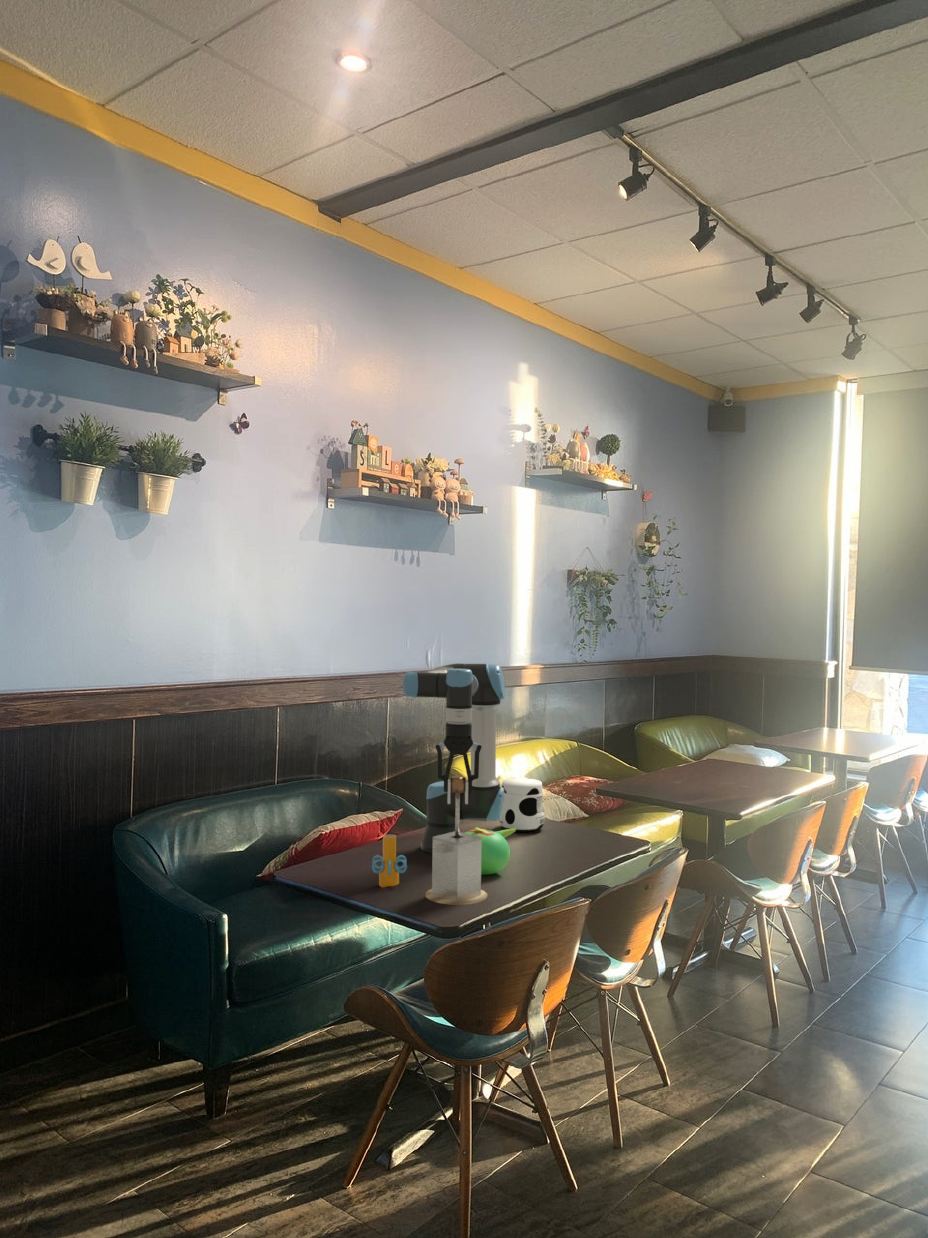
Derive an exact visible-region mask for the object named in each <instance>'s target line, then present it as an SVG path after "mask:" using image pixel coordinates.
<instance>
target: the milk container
mask: <svg viewBox="0 0 928 1238" xmlns="http://www.w3.org/2000/svg"><path fill="white" fill-rule="evenodd" d="M501 787H503V788H504V799H503V805H502V811H501V815H500V818H499V819H498V820H499V824H500V826H501V828H503V830H507V829H516V831H515V832H519V833H528V832H535V831H538V830H540V829H542V828H543V827H544V825H545V817H546V816H545V811H544V806H543V795H544V794H543V791H544V789H543V782H542V781H541V780H540V779H539V780H538V779H534V778H524V777H523V778H522V777H521V778H520V777H518V778H516V777H515V778H507V779H504V780H502V782H501Z"/></svg>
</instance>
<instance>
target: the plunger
mask: <svg viewBox="0 0 928 1238" xmlns="http://www.w3.org/2000/svg"><path fill="white" fill-rule="evenodd" d="M449 778H450V779H449V780H450V781H451V790H450V792H453V793H456V809H455V838H456V839H458V838H459V820H460V793H464V792H465V782H466V780H467V777H465V776H462V775H460V776H459V775H455V776H451V777H450V776H449ZM460 821H461V820H460Z"/></svg>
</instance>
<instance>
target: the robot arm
mask: <svg viewBox="0 0 928 1238" xmlns="http://www.w3.org/2000/svg"><path fill="white" fill-rule="evenodd" d="M402 690H403V694H404V696H405V697H407V698H408V697H409V698H437V699H446V700H445V702H446V703H445V721H446V723H445V738H444V740H443V742H440V743H435V750H436V752H437V778H438V779H439V780H440V781H436V782H433V783H431V784H429V785H428V786H427V788H426V789H427V790H426V797H425V799H426V819H425V820H426V825H425V826H426V827H425V830H424V833H423V837H422V839H421V842H420V850H422V852H425V853H428V854H433V837H434V836H438V835H442V834H446V833H450V832H454V831H455V809H456V793H453V792H450V790H451V781H450V779H449V778H450V773H451V769H452V765H453V760H454V758H455V756H458V755H460V756H462V757H463V762H464V767H465V772H466V775H467V777H466V778H467V779H466V782H465V792H464V793H460V820H459V832H462V830H461V821H475V822H477V821H479V822H480V821H481V822H485V823H486V822H497V821H498V820H499V818H500V815H501V811H502V805H503V799H504V788H503V787H502V786H501V782H500V779H498V778H497V777H496V774H497V773H496V769H497V768H496V766H497V765H496V763H497V762H496V761H497V760H496V759H497V757H496V755H497V754H496V753H497V752H496V751H497V749H496V746H497V745H496V743H497V741H496V740H497V739H496V734H497V733H496V731H497V729H496V728H497V727H496V725H497V722H496V721H497V716H496V715H497V714H496V713H497V708H498V707H499V706H500V705H501V700H504V699H505V696H506V685H505V678H504V674H503V669H502V667H501V666H500V665H498V664H492V663H491V664H490V663H450V664H446V665H441V666H436V667H435V668H433V669H431V670H428V671H424V672H423V671H422V672H421V671H411V672H409V671H408V672H406V673H405V674H404V676H403V681H402ZM444 747H445V748H446V749H447V751H448V752H449V754H448V758H447V763H446V767H445V771H444V774H443V753H442V752H443V751H444ZM469 750H470V762H469V758H468V753H469ZM441 780H442V781H441Z"/></svg>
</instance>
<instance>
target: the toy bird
mask: <svg viewBox="0 0 928 1238" xmlns="http://www.w3.org/2000/svg"><path fill="white" fill-rule="evenodd" d="M515 832H516V829H503V830H502V829H501V830H497V831H494V830H493V829H492V830H491V829H486V828H480V827H478V826H475V827H474V828H473V829H470V830H467V831H465V832H464V833H467V834H471V835H475V836H480V837H482V844H481V876H485V875H486V876H487V875H488V876H489V875H494V874H496V873H499V872H500V871H502V870H503V869H505V867H506V866H507V864H508V862H509V860H510V857H511V850H510V844H509V842H508V841H507V839H506V838H507V837H508V836H510V835H512V834H513V833H515Z"/></svg>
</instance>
